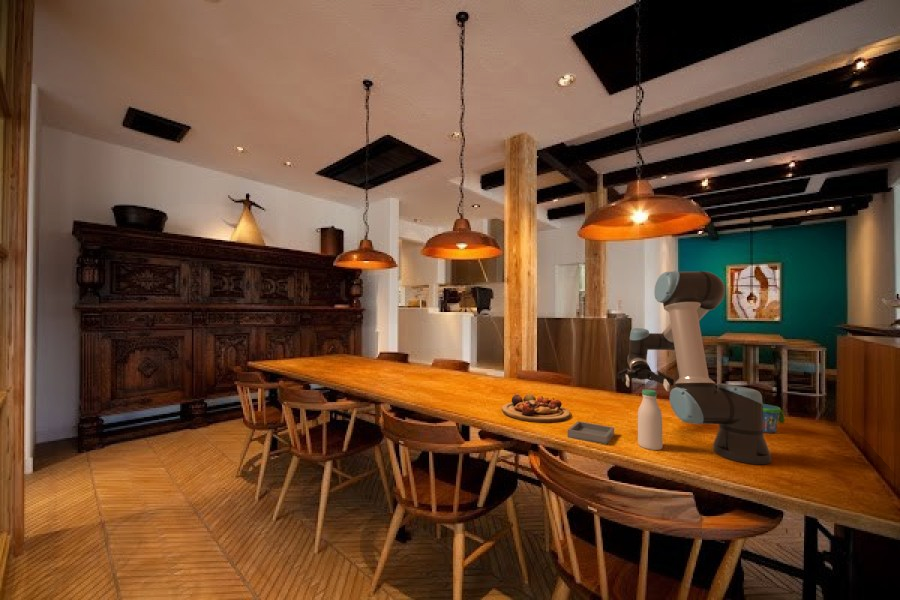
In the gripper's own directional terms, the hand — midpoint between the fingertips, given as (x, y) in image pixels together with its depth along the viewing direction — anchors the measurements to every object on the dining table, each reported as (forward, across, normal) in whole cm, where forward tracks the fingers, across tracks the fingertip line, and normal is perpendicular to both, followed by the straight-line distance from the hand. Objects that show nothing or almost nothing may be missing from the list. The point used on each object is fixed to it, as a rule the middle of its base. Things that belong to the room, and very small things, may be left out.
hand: (647, 385), depth 137 cm
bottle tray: (+8, +19, -20) cm, 29 cm away
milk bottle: (+12, 0, -18) cm, 22 cm away
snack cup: (-26, -48, -22) cm, 59 cm away
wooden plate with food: (-16, +44, -26) cm, 53 cm away
